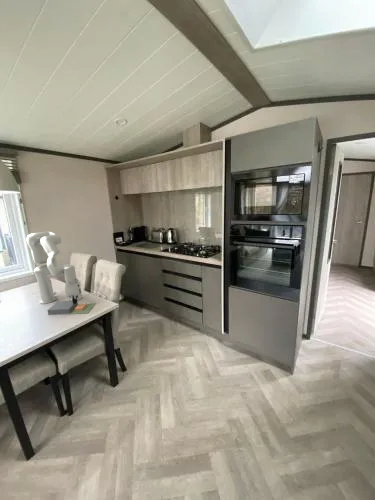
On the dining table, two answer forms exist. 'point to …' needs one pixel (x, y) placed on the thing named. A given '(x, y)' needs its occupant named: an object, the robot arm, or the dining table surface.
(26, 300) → the dining table surface
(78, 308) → the tile
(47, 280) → the robot arm
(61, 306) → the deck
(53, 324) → the dining table surface
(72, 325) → the dining table surface
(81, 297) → the milk carton
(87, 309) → the mat
